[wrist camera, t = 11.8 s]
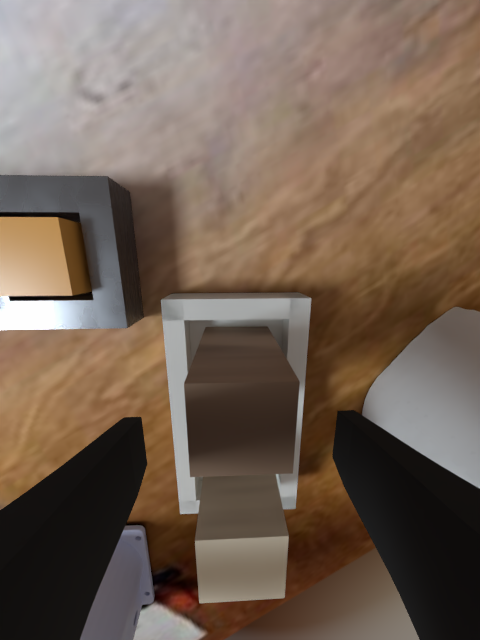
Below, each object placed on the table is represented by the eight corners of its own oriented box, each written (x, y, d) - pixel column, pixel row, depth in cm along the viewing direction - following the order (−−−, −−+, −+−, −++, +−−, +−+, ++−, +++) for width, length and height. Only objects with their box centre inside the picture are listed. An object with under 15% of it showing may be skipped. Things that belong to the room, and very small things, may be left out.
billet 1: (265, 382, 16) (292, 473, 9) (207, 383, 16) (189, 477, 9) (267, 326, 15) (299, 381, 8) (205, 326, 15) (184, 383, 8)
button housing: (143, 317, 15) (127, 327, 13) (26, 319, 15) (-14, 329, 12) (129, 192, 13) (107, 176, 11) (-5, 190, 13) (-59, 174, 11)
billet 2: (263, 467, 17) (284, 598, 11) (211, 469, 17) (199, 603, 11) (264, 423, 16) (288, 535, 10) (209, 425, 16) (194, 540, 10)
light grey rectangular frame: (287, 477, 19) (295, 508, 17) (186, 481, 19) (180, 514, 16) (298, 292, 15) (311, 298, 13) (171, 293, 15) (160, 299, 12)
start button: (104, 288, 14) (72, 295, 11) (45, 289, 14) (-3, 296, 11) (95, 227, 13) (57, 217, 10) (31, 226, 13) (-25, 216, 10)
